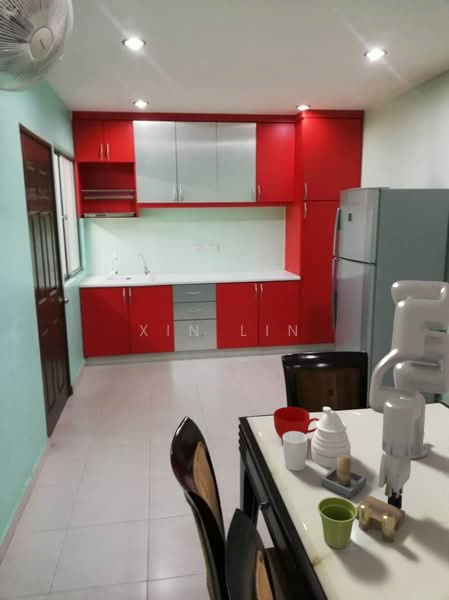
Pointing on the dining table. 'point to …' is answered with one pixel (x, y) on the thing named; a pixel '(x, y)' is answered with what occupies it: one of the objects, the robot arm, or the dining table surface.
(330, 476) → the tray
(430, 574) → the dining table surface
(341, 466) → the dowel
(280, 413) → the ceramic cup
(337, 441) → the honey pot
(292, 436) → the white cup
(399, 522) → the brown wooden brick
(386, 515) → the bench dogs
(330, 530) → the plant pot
